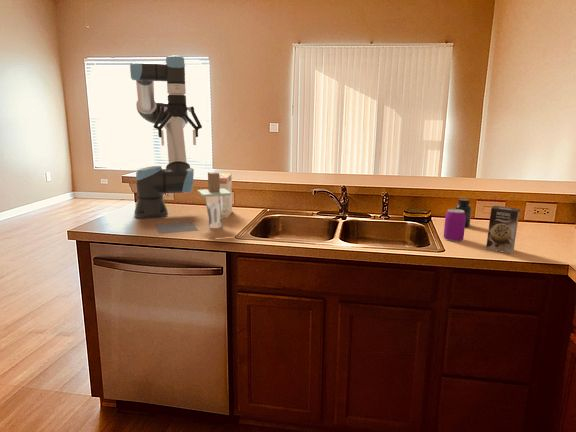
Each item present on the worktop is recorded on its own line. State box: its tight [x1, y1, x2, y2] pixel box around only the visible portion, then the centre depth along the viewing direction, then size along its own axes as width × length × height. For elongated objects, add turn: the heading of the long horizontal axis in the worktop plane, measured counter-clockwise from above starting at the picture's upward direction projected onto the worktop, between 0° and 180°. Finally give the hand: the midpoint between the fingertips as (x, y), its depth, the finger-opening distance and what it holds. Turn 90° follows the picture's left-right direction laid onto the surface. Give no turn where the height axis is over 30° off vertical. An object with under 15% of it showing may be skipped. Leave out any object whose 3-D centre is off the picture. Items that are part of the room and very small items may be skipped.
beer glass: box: [205, 196, 223, 229], centre depth 189 cm, size 7×7×15 cm
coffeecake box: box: [218, 172, 233, 219], centre depth 213 cm, size 15×7×20 cm, turn 178°
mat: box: [155, 221, 199, 235], centre depth 189 cm, size 16×16×1 cm
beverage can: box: [443, 208, 466, 242], centre depth 177 cm, size 8×8×12 cm
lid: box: [196, 171, 231, 198], centre depth 186 cm, size 12×12×9 cm
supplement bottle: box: [454, 198, 472, 228], centre depth 199 cm, size 7×7×12 cm
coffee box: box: [485, 205, 521, 254], centre depth 163 cm, size 9×6×16 cm
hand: (178, 145), depth 191 cm, fingers open, 13 cm apart
